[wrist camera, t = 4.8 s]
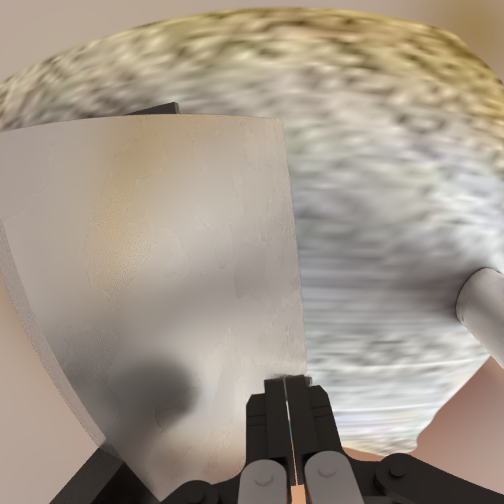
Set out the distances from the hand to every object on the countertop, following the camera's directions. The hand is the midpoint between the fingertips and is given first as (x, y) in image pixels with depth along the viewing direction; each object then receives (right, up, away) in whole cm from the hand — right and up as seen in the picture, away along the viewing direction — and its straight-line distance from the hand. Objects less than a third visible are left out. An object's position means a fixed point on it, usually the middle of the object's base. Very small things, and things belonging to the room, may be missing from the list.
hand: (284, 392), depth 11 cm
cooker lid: (-2, +1, +3) cm, 4 cm away
